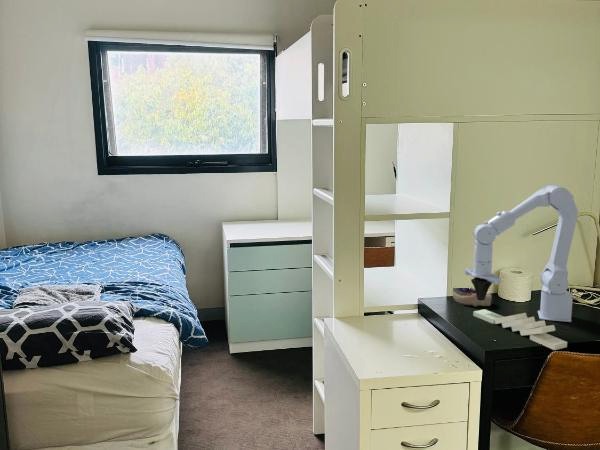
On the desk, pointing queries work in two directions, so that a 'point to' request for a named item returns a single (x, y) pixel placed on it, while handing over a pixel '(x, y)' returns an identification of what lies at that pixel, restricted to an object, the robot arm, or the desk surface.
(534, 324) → the domino
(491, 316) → the domino
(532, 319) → the domino
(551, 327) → the domino
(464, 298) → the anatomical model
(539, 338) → the domino
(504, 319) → the domino
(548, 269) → the robot arm
